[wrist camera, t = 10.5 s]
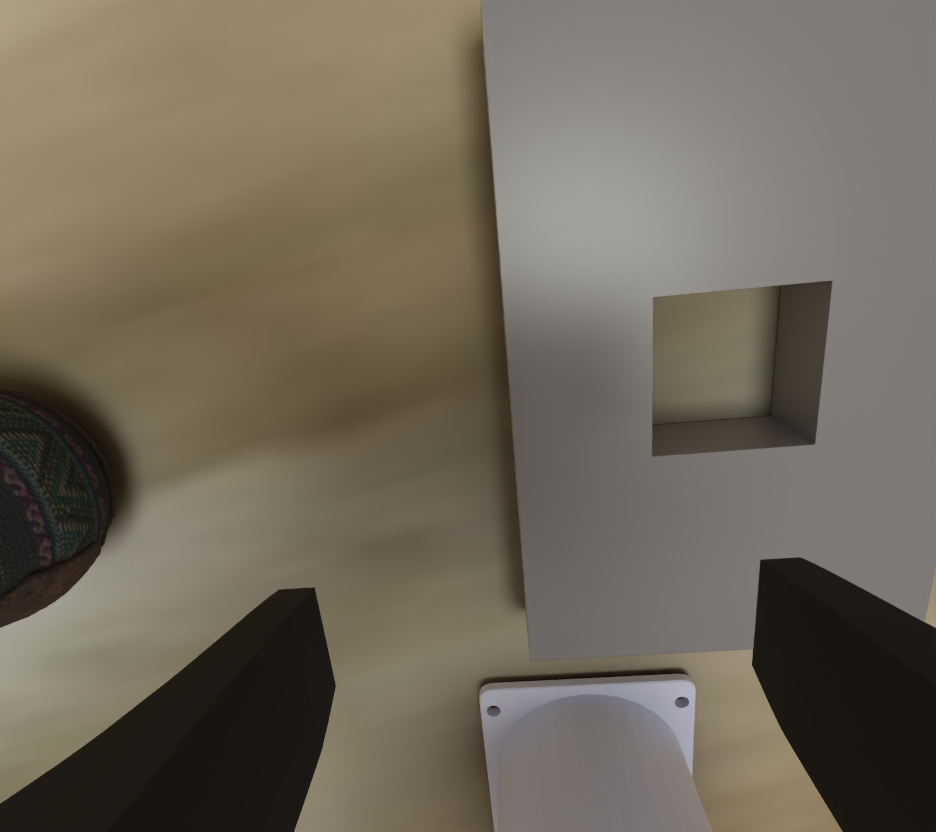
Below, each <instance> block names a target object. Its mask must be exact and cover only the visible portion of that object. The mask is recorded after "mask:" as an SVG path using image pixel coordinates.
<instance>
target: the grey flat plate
mask: <svg viewBox="0 0 936 832" xmlns="http://www.w3.org/2000/svg"><path fill="white" fill-rule="evenodd" d="M481 32H482V49H483V62H484V75H485V88H486V101H487V114H488V127H489V140H490V153H491V166H492V179H493V192H494V205H495V219H496V232H497V245H498V258H499V271H500V284H501V297H502V310H503V323H504V336H505V349H506V362H507V375H508V388H509V401H510V415H511V428H512V441H513V454H514V467H515V480H516V493H517V506H518V519H519V532H520V545H521V558H522V571H523V584H524V597H525V610H526V621H527V631H528V641H529V651H530V661H537V660H556V659H575V658H594V657H613V656H632V655H651V654H670V653H689V652H708V651H727V650H746V649H753V646H754V633H755V621H756V608H757V595H758V583H759V570H760V560H763V559H779V558H795V557H801V558H803V559H806V560H808V561H810V562H812V563H814V564H816V565H818V566H820V567H822V568H824V569H826V570H828V571H830V572H832V573H834V574H836V575H838V576H840V577H842V578H843V579H845V580H847V581H849V582H851V583H853V584H855V585H857V586H858V587H860V588H862V589H864V590H866V591H868V592H870V593H871V594H873V595H875V596H877V597H879V598H881V599H882V600H884V601H886V602H888V603H890V604H892V605H894V606H895V607H897V608H899V609H901V610H903V611H905V612H907V613H908V614H910V615H912V616H914V617H916V618H918V619H920V620H921V621H923V622H925V617H926V612H927V606H928V601H929V596H930V591H931V586H932V581H933V575H934V570H935V565H936V0H482V1H481ZM778 285H781V292H780V304H779V317H778V330H777V343H776V355H775V368H774V381H773V394H772V406H771V416H763V417H750V418H737V419H725V420H712V421H699V422H686V423H674V424H661V425H652V395H653V297H660V296H670V295H681V294H692V293H703V292H714V291H724V290H735V289H746V288H757V287H767V286H778Z"/></svg>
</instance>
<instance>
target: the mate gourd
mask: <svg viewBox="0 0 936 832" xmlns="http://www.w3.org/2000/svg"><path fill="white" fill-rule="evenodd" d="M111 476H112V475H111V473H110V470H109V467H108V465H107V463H106V460H105V458H104V457H103V455H102V453H101V451H100V450H99V448H98V447H97V445H96V444H95V442H94V441H93V440H92V438H91V437H90V436H89V434H87V433H86V432H85V431H84V430H83V429H82V428H81V427H80V426H79V425H78V424H77V423H76V422H74V421H73V420H72V419H71V418H70V417H68V416H67V415H65V414H64V413H62V412H61V411H59V410H58V409H56V408H54V407H52V406H50V405H48V404H47V402H44V401H41V400H39V399H37V398H34V397H30V396H29V395H24V394H22V393H18V392H13V391H4V390H0V628H1V627H3V626H5V625H8V624H11V623H13V622H16V621H19V620H21V619H24V618H27V617H29V616H31V615H32V614H34V613H36V612H38V611H39V610H41V609H43V608H45V607H47V606H48V605H50V604H52V603H53V602H55V601H56V600H57V599H59V598H60V597H62V596H63V595H64V594H65V593H67V592H68V591H69V590H70V589H71V588H72V587H73V586H74V585H75V584H76V583H77V582H78V581H79V580H80V579H81V578H82V576H83V575H84V574H85V573H86V572H87V571H88V569H89V568H90V567H91V566H92V564H93V563H94V562H95V560H96V558H97V557H98V556H99V555H100V551H101V547H102V546H103V545H104V543H105V539H106V535H107V532H108V528H109V526H110V524H111V523H112V519H113V517H114V514H115V502H116V501H115V491H114V485H113V480H112V477H111Z"/></svg>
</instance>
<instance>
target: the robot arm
mask: <svg viewBox="0 0 936 832" xmlns="http://www.w3.org/2000/svg"><path fill="white" fill-rule="evenodd" d="M752 666H753V668H754V670H755V673H756V675H757V677H758V679H759V682H760V684H761V686H762V689H763V691H764V693H765V695H766V698H767V700H768V702H769V704H770V706H771V708H772V710H773V713H774V715H775V717H776V719H777V721H778V723H779V725H780V727H781V729H782V731H783V733H784V735H785V736H786V738H787V740H788V741H789V743H790V745H791V747H792V748H793V750H794V752H795V753H796V755H797V757H798V758H799V760H800V762H801V763H802V765H803V767H804V768H805V770H806V772H807V773H808V775H809V777H810V778H811V780H812V782H813V783H814V785H815V787H816V788H817V790H818V792H819V793H820V795H821V797H822V798H823V800H824V801H825V803H826V805H827V806H828V808H829V810H830V811H831V813H832V815H833V816H834V818H835V820H836V821H837V823H838V824H839V826H840V828H841V829H842V831H843V832H936V628H935V627H933V626H931V625H929V624H927V623H925V622H923V621H921V620H920V619H918V618H916V617H914V616H912V615H910V614H908V613H907V612H905V611H903V610H901V609H899V608H897V607H895V606H894V605H892V604H890V603H888V602H886V601H884V600H882V599H881V598H879V597H877V596H875V595H873V594H871V593H870V592H868V591H866V590H864V589H862V588H860V587H858V586H857V585H855V584H853V583H851V582H849V581H847V580H845V579H843V578H842V577H840V576H838V575H836V574H834V573H832V572H830V571H828V570H826V569H824V568H822V567H820V566H818V565H816V564H814V563H812V562H810V561H808V560H806V559H803V558H801V557H795V558H779V559H763V560H760V570H759V583H758V595H757V608H756V621H755V633H754V646H753V659H752ZM335 687H336V685H335V680H334V675H333V671H332V666H331V662H330V657H329V652H328V648H327V643H326V638H325V634H324V629H323V624H322V620H321V615H320V610H319V606H318V601H317V597H316V592H315V587H314V588H298V589H282V590H278V591H277V592H275V593H274V594H273V595H271V596H270V597H269V598H267V599H266V600H265V601H264V602H262V603H261V604H260V605H259V606H257V607H256V608H255V609H254V610H253V611H251V612H250V613H249V614H248V615H247V616H245V617H244V618H243V619H242V620H241V621H240V622H238V623H237V624H236V625H235V626H234V627H232V628H231V629H230V630H229V631H228V632H227V633H225V634H224V635H223V636H222V637H221V638H219V639H218V640H217V641H216V642H215V643H213V644H212V645H211V646H210V647H209V648H208V649H206V650H205V651H204V652H203V653H202V654H200V655H199V656H198V657H197V658H196V659H194V660H193V661H192V662H191V663H190V664H188V665H187V666H186V667H185V668H184V669H182V670H181V671H180V672H179V673H178V674H176V675H175V676H174V677H173V678H171V679H170V680H169V681H168V682H166V683H165V684H164V685H163V686H161V687H160V688H159V689H157V690H156V691H155V692H154V693H152V694H151V695H150V696H148V697H147V698H146V699H145V700H143V701H142V702H141V703H140V704H138V705H137V706H136V707H134V708H133V709H132V710H131V711H129V712H128V713H127V714H125V715H124V716H123V717H122V718H120V719H119V720H118V721H116V722H115V723H114V724H113V725H111V726H110V727H109V728H107V729H106V730H105V731H104V732H102V733H101V734H100V735H98V736H97V737H95V738H94V739H93V740H91V741H90V742H89V743H87V744H86V745H85V746H83V747H82V748H80V749H79V750H78V751H76V752H75V753H73V754H72V755H71V756H69V757H68V758H66V759H65V760H64V761H62V762H61V763H59V764H58V765H57V766H55V767H54V768H52V769H51V770H49V771H48V772H46V773H45V774H43V775H42V776H40V777H39V778H38V779H36V780H35V781H33V782H32V783H30V784H29V785H27V786H26V787H24V788H23V789H21V790H20V791H18V792H17V793H16V794H14V795H13V796H11V797H10V798H8V799H7V800H5V801H4V802H2V803H1V804H0V832H294V830H295V827H296V824H297V822H298V819H299V816H300V813H301V810H302V807H303V804H304V801H305V798H306V795H307V792H308V789H309V787H310V784H311V781H312V778H313V775H314V772H315V769H316V766H317V763H318V760H319V757H320V754H321V751H322V747H323V742H324V738H325V734H326V730H327V725H328V721H329V716H330V711H331V706H332V701H333V697H334V692H335ZM695 696H696V689H695V685H694V683H693V681H692V679H691V678H690V677H689V676H687V675H685V674H664V675H644V676H624V677H604V678H584V679H564V680H544V681H524V682H504V683H490V684H486V685H484V686H483V687H482V688H481V689H480V693H479V702H480V711H481V720H482V729H483V737H484V746H485V755H486V764H487V772H488V781H489V790H490V798H491V807H492V816H493V825H494V832H712V829H711V827H710V824H709V821H708V819H707V816H706V813H705V811H704V808H703V805H702V803H701V800H700V797H699V795H698V792H697V789H696V787H695V784H694V781H693V779H692V771H693V746H694V721H695ZM679 697H683V698H682V699H677V698H679ZM490 706H497V708H490Z"/></svg>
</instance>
